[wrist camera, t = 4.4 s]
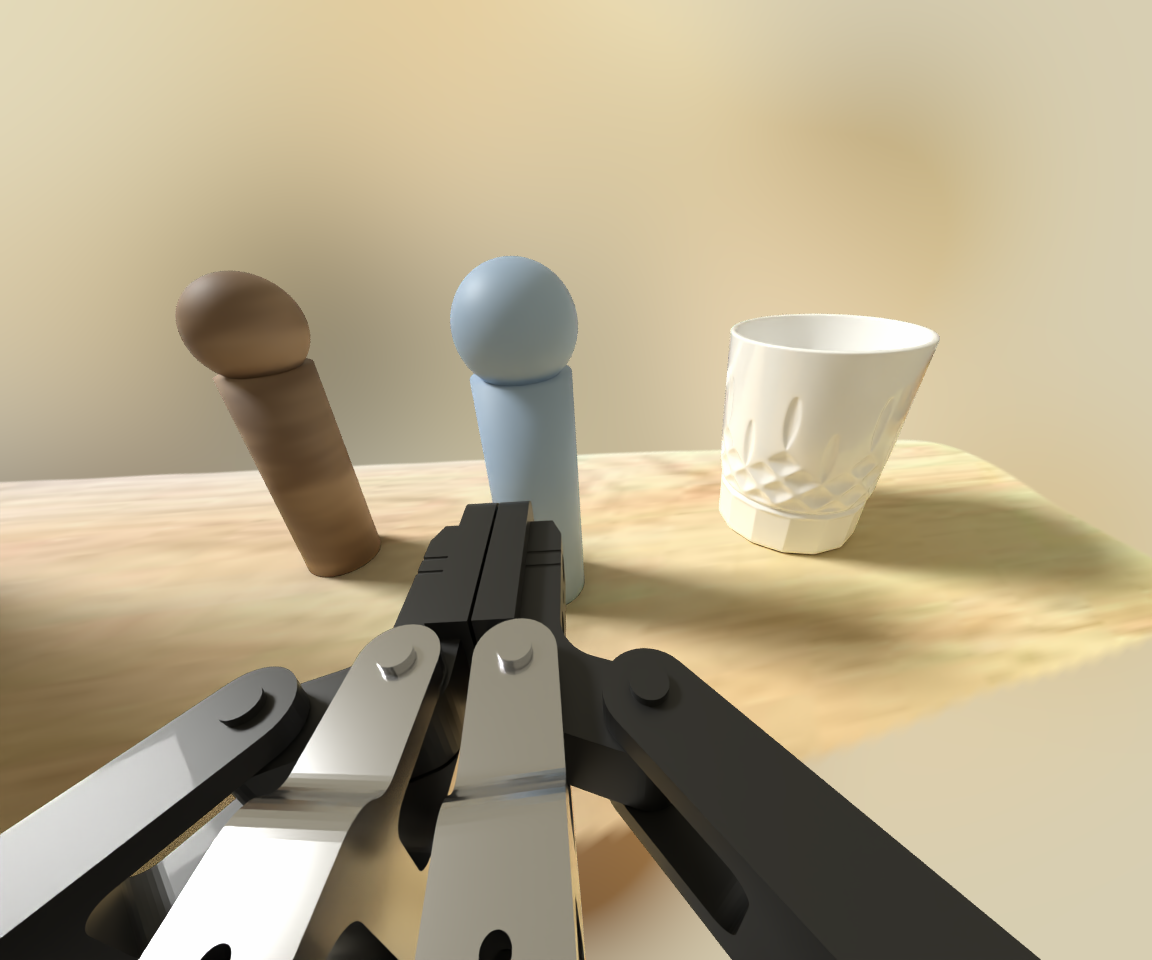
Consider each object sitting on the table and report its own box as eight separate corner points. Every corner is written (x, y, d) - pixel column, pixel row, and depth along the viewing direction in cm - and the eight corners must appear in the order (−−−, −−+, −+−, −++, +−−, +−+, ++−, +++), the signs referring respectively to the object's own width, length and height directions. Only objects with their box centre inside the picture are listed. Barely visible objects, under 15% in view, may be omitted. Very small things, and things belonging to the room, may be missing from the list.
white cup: (898, 529, 22) (981, 329, 17) (796, 587, 19) (861, 364, 14) (771, 468, 28) (805, 308, 23) (679, 504, 25) (694, 329, 20)
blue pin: (496, 618, 18) (419, 264, 11) (507, 554, 22) (454, 256, 15) (593, 612, 18) (576, 254, 11) (588, 549, 22) (572, 249, 15)
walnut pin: (284, 583, 21) (115, 279, 14) (325, 531, 24) (208, 270, 17) (368, 578, 21) (241, 271, 14) (397, 527, 24) (308, 263, 17)
